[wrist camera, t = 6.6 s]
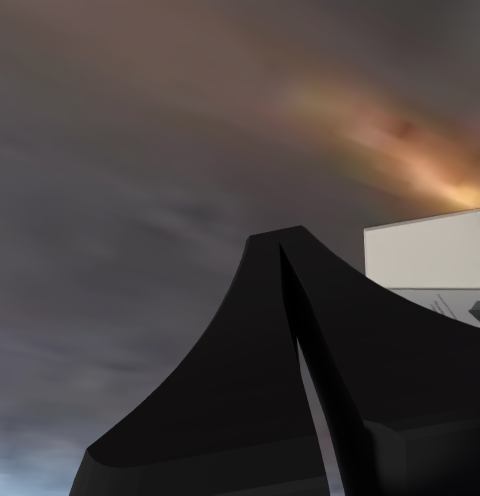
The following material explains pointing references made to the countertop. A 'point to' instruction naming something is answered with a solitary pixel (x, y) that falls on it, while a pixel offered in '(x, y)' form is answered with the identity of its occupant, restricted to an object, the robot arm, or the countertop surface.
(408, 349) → the robot arm
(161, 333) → the countertop surface
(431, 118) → the countertop surface
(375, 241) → the topple mat
